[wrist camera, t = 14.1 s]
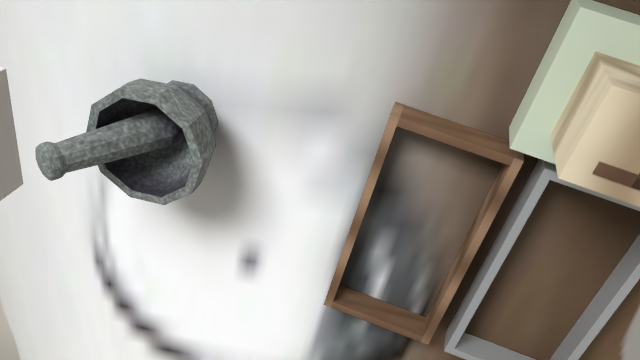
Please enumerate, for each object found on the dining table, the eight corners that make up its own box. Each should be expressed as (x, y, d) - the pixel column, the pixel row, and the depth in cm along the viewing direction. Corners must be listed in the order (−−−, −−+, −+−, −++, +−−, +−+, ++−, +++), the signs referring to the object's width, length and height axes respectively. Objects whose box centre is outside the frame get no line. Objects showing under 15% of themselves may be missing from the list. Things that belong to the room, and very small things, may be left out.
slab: (573, -6, 37) (580, 6, 34) (730, 43, 36) (751, 61, 33) (509, 127, 42) (509, 148, 39) (643, 173, 41) (654, 198, 38)
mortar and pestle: (238, 73, 46) (165, 135, 36) (237, 173, 51) (172, 252, 41) (113, 50, 48) (10, 102, 38) (123, 148, 53) (35, 218, 43)
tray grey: (542, 152, 42) (544, 168, 40) (676, 199, 41) (686, 217, 39) (446, 331, 53) (443, 351, 51) (550, 371, 52) (552, 393, 50)
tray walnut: (395, 102, 43) (390, 114, 41) (522, 145, 42) (524, 161, 40) (330, 287, 54) (323, 304, 52) (430, 325, 53) (427, 344, 51)
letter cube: (550, 134, 38) (558, 179, 33) (595, 51, 35) (612, 85, 30) (640, 166, 37) (663, 216, 32) (695, 84, 34) (730, 125, 29)
